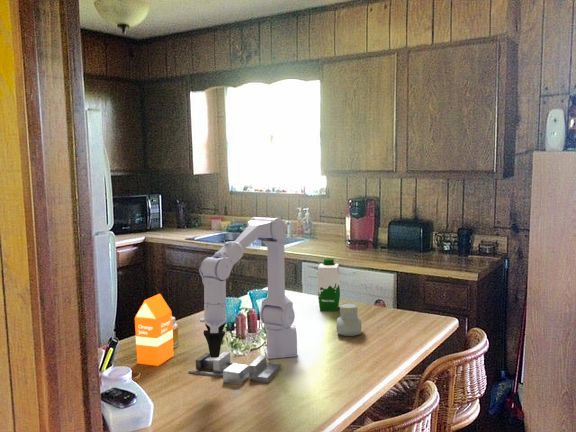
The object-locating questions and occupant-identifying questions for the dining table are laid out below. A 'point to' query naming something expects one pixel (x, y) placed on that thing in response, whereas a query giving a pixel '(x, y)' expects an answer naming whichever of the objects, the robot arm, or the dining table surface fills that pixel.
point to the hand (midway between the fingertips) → (215, 352)
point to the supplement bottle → (175, 333)
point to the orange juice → (154, 332)
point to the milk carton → (328, 285)
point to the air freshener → (348, 321)
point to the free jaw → (214, 362)
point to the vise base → (254, 370)
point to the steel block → (236, 373)
